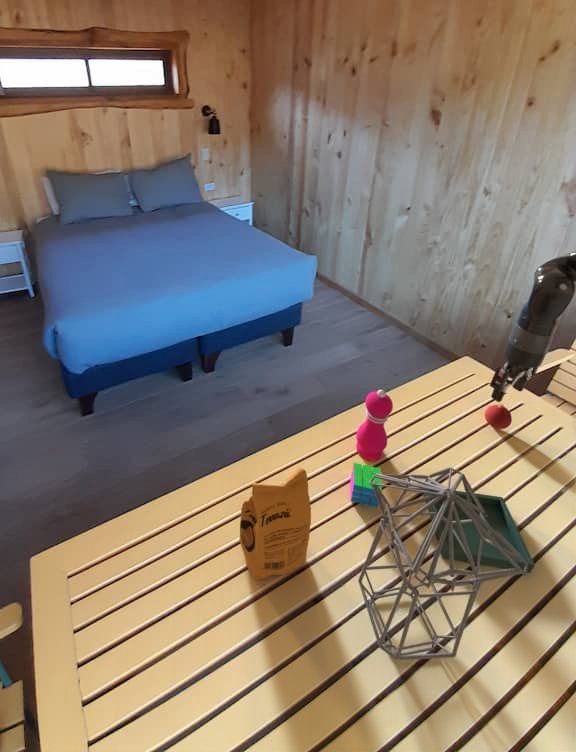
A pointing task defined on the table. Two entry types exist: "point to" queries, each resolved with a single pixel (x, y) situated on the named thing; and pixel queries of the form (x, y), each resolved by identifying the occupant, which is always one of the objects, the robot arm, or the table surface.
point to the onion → (498, 416)
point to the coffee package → (276, 526)
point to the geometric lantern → (422, 551)
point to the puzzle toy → (364, 484)
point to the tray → (498, 521)
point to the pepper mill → (374, 426)
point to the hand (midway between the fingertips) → (506, 394)
